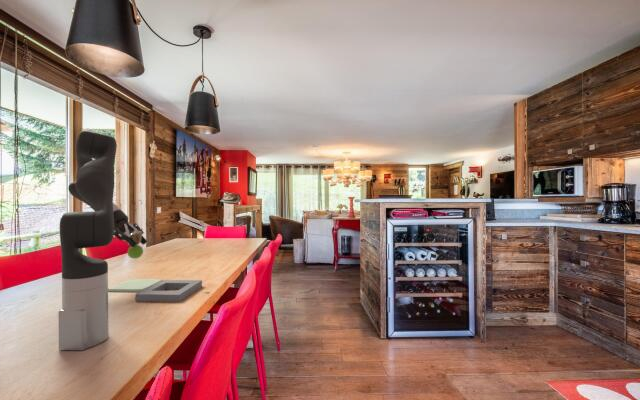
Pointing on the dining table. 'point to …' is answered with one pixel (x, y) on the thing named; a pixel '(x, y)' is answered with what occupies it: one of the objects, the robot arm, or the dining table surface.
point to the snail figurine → (137, 250)
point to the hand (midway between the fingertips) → (140, 244)
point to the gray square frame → (169, 296)
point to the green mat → (134, 285)
